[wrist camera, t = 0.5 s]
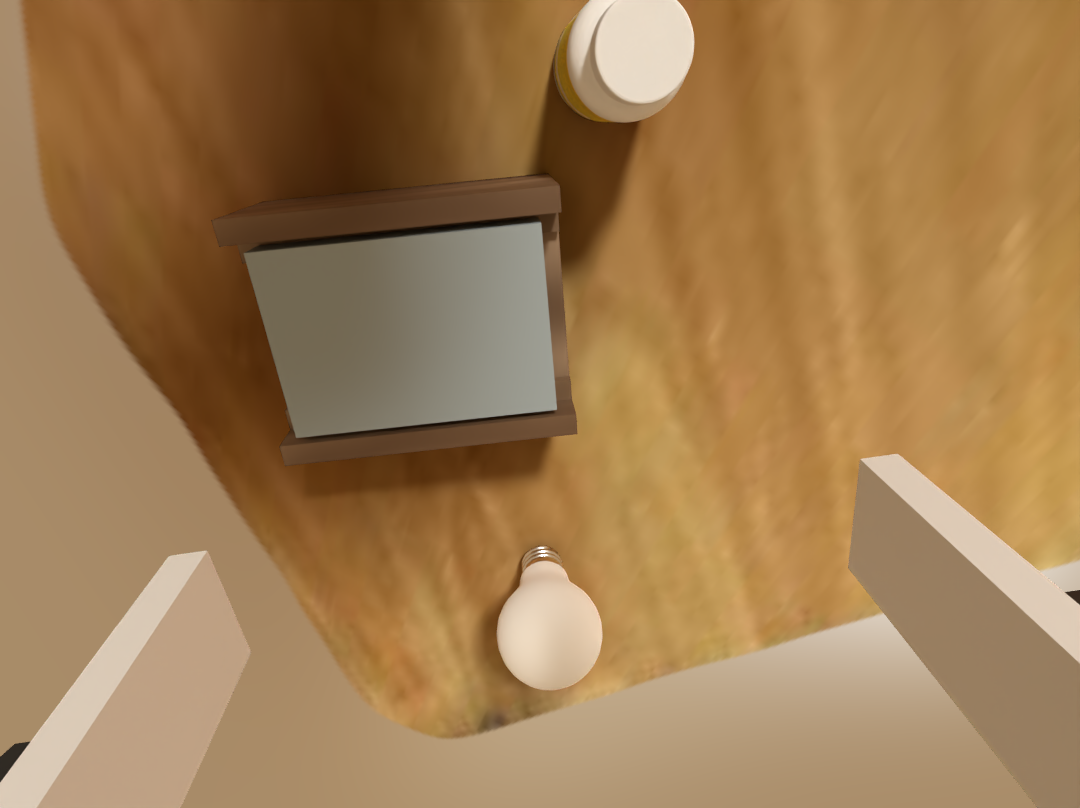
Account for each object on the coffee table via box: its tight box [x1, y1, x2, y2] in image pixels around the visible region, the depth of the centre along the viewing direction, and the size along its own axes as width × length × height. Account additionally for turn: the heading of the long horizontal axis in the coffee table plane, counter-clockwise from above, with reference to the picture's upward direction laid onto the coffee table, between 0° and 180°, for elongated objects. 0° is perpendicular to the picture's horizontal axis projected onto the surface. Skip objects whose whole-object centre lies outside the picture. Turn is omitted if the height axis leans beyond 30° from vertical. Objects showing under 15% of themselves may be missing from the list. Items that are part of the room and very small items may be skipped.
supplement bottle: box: [554, 0, 694, 123], centre depth 29 cm, size 5×5×10 cm
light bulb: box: [497, 545, 602, 690], centre depth 41 cm, size 7×7×11 cm
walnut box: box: [211, 173, 577, 466], centre depth 35 cm, size 13×16×7 cm
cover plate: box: [244, 217, 557, 438], centre depth 32 cm, size 10×14×2 cm
